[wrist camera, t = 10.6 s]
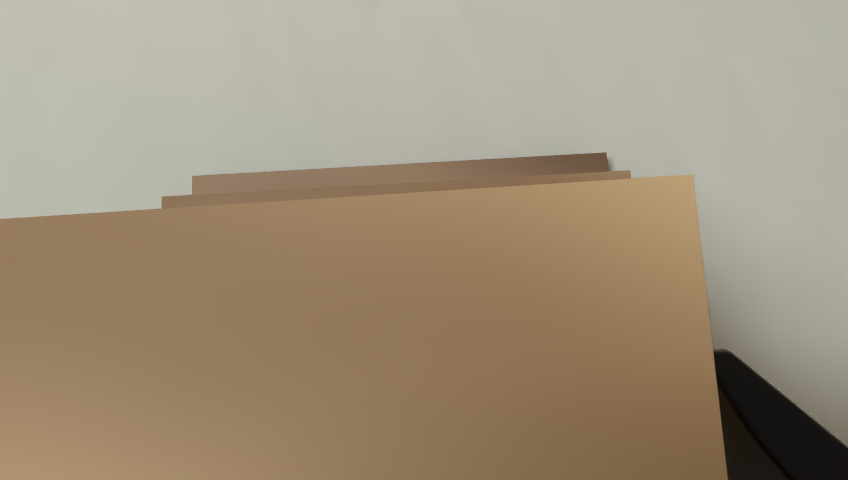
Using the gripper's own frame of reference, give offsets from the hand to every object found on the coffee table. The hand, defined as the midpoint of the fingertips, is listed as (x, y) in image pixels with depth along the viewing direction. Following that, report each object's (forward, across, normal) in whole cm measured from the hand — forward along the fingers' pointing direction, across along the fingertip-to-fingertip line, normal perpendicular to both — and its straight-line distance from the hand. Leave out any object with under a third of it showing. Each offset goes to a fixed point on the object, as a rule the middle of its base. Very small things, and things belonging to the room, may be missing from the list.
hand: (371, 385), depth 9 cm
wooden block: (+6, 0, +6) cm, 9 cm away
